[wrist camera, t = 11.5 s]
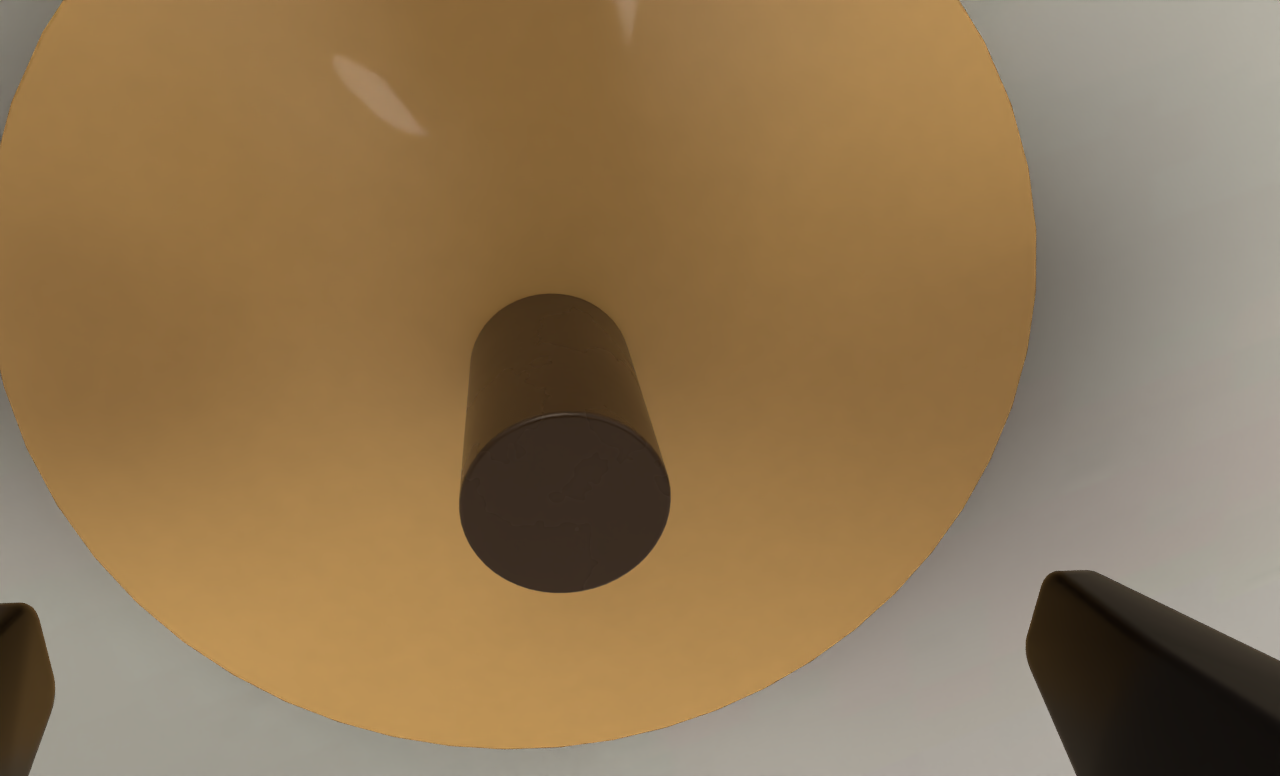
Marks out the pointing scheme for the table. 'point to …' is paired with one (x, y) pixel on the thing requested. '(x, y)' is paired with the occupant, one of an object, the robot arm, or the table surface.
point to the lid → (512, 336)
